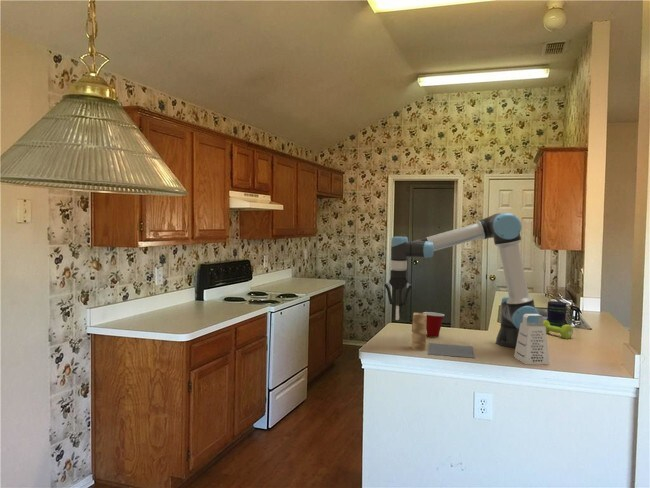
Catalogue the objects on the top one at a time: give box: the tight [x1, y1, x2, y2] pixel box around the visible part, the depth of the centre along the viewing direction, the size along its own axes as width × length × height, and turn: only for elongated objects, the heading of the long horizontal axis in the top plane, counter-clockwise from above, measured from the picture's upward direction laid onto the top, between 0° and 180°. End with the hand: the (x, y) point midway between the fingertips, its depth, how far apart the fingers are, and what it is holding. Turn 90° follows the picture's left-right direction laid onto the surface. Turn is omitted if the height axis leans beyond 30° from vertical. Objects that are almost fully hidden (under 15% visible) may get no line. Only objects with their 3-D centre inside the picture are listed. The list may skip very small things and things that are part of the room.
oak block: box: [411, 312, 427, 351], centre depth 228 cm, size 6×6×16 cm
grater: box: [513, 313, 550, 365], centre depth 211 cm, size 10×10×20 cm
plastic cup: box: [422, 311, 445, 338], centre depth 253 cm, size 11×11×12 cm
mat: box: [427, 342, 476, 359], centre depth 225 cm, size 20×20×1 cm
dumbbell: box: [543, 319, 574, 340], centre depth 260 cm, size 16×8×7 cm, turn 33°
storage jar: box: [546, 300, 568, 328], centre depth 276 cm, size 10×10×15 cm
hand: (397, 319), depth 230 cm, fingers closed
